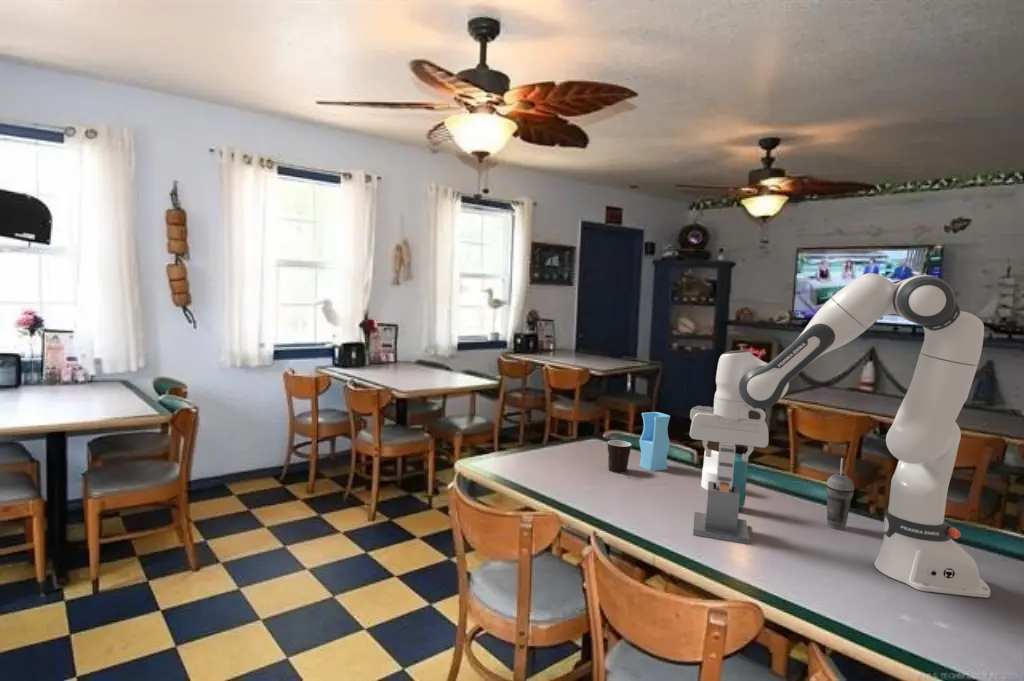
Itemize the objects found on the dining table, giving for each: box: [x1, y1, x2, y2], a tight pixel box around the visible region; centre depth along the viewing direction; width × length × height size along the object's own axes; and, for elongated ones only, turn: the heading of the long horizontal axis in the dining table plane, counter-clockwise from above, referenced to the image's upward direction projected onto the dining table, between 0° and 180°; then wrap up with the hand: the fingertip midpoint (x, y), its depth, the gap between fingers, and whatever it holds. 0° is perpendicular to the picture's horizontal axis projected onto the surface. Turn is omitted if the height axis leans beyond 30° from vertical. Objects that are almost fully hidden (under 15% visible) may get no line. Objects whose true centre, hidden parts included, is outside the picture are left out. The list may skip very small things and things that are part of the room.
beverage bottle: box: [732, 444, 748, 508], centre depth 181 cm, size 6×7×20 cm
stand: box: [692, 481, 750, 545], centre depth 163 cm, size 14×14×14 cm
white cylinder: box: [700, 449, 719, 491], centre depth 201 cm, size 9×9×12 cm
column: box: [716, 442, 736, 492], centre depth 163 cm, size 4×4×22 cm
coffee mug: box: [606, 439, 632, 474], centre depth 213 cm, size 12×9×10 cm
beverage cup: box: [825, 457, 855, 531], centre depth 170 cm, size 7×7×20 cm
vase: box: [638, 411, 671, 472], centre depth 221 cm, size 8×8×20 cm
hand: (726, 458), depth 162 cm, fingers open, 8 cm apart
